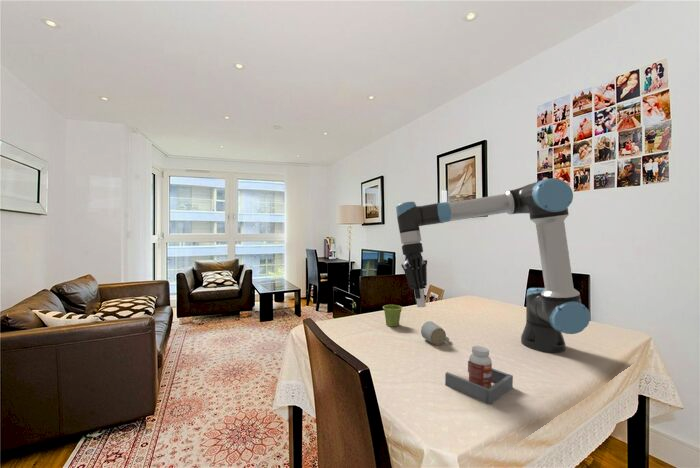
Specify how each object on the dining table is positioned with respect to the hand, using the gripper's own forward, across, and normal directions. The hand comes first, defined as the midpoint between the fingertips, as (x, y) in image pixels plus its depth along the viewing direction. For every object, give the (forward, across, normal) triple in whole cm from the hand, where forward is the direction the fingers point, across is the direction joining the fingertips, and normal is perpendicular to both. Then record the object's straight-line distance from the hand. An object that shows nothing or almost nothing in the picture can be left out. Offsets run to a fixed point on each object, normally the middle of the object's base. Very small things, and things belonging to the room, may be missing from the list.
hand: (421, 306), depth 113 cm
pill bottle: (+22, +6, +21) cm, 31 cm away
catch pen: (+22, +6, +21) cm, 31 cm away
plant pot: (+13, -18, -33) cm, 40 cm away
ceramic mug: (+18, -15, -7) cm, 24 cm away
